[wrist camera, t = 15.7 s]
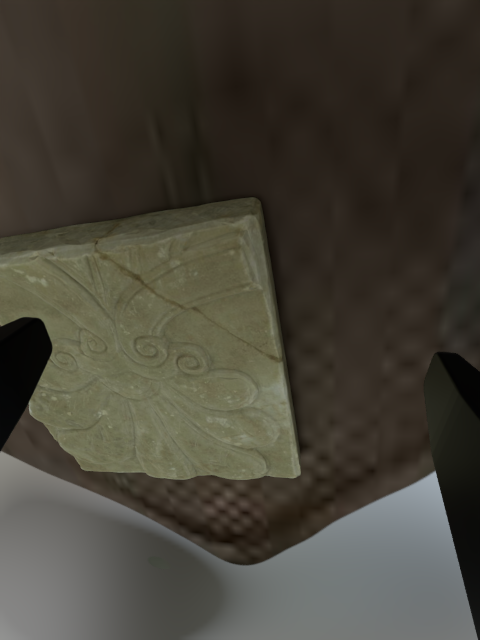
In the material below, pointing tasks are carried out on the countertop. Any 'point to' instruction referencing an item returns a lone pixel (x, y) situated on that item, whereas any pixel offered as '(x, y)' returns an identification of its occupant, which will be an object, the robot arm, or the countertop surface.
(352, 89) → the countertop surface
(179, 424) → the decorative tile
